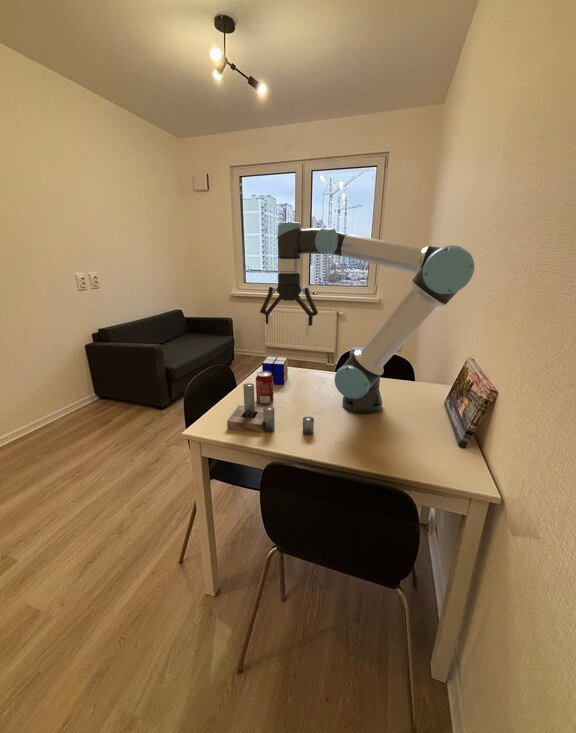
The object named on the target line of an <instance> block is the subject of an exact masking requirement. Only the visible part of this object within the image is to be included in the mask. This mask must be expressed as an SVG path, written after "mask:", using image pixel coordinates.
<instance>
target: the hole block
mask: <svg viewBox="0 0 576 733" xmlns="http://www.w3.org/2000/svg"><path fill="white" fill-rule="evenodd" d="M263 408H264V407H261V406H255V418H245V410H244V405H242V404H241V405H240V404H239V405H238V406H237V407H236V409H235V410H234V411H232V414H231V415H230V416H229V417H228V419H227V421H226V423H227V424H226V427H227V428H226V429H228V430H235V431H242V432H243V431H244V432H253V433H254V432H255V433H263V432H264V416H263Z"/></svg>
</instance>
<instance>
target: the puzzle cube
mask: <svg viewBox="0 0 576 733" xmlns="http://www.w3.org/2000/svg"><path fill="white" fill-rule="evenodd" d="M261 365H262V366H261V370H262V371H268V372H271V375H272V376H273V385H277V386H278V385H279V386H284V385H285V383H286V382H287V380H288V378H289V375H288V371H289V367H288V365H289V359H288V357H282V356H281V357H280V356H278V357H277V356H267V357H266V358H265V359H264V360H263V362H262V363H261Z"/></svg>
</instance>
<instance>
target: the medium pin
mask: <svg viewBox="0 0 576 733" xmlns="http://www.w3.org/2000/svg"><path fill="white" fill-rule="evenodd" d="M263 416H264V429H263V432H265V433H268V434H272V433H274V432H275V429H276V428H275V426H276V425H275V406H274V407H273V406H272V405H267V406H265V407H263Z"/></svg>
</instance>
